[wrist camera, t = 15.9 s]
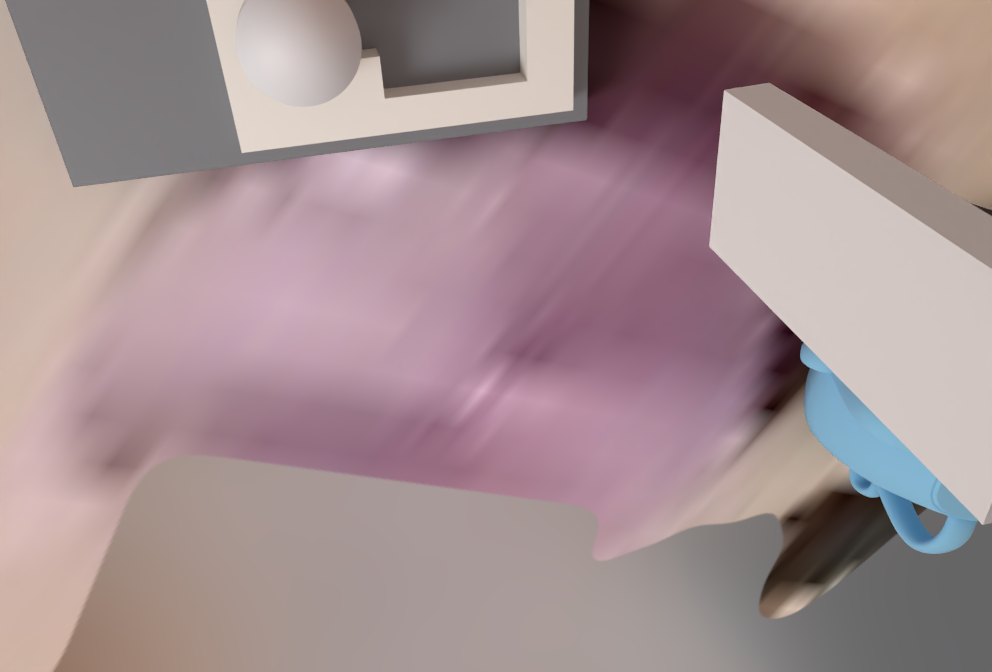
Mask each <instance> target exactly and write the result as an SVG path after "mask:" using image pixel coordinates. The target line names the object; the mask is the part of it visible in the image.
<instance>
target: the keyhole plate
mask: <svg viewBox="0 0 992 672" xmlns="http://www.w3.org/2000/svg"><path fill="white" fill-rule="evenodd" d="M244 1H245V0H206V2H207V6H208V10H209V14H210V19H211V23H212V27H213V32H214V36H215V40H216V44H217V49H218V53H219V57H220V62H221V66H222V70H223V75H224V79H225V83H226V87H227V92H228V96H229V100H230V105H231V109H232V113H233V117H234V122H235V126H236V130H237V135H238V139H239V143H240V147H241V152H242V153H246V152H254V151H262V150H269V149H277V148H285V147H293V146H300V145H308V144H316V143H324V142H331V141H339V140H347V139H355V138H362V137H370V136H378V135H386V134H393V133H401V132H409V131H417V130H424V129H432V128H440V127H448V126H455V125H463V124H471V123H479V122H486V121H494V120H502V119H510V118H518V117H525V116H533V115H541V114H549V113H556V112H564V111H572V110H573V85H574V0H519V37H520V73H513V74H505V75H497V76H488V77H480V78H472V79H463V80H455V81H447V82H438V83H430V84H422V85H413V86H405V87H397V88H388V89H384V88H383V80H382V72H381V64H380V56H379V54H378V51H377V49H376V48H372V49H363V50H362V53H361V60H360V65H359V68H358V71H357V73H356V75H355V77H354V79H353V80H352V82H351V83H350V85H349V86H348V87H347V88H346V89H345V90H344V91H343V92H342V93H341V94H339V95H338V96H337V97H335V98H334V99H332V100H330V101H328V102H326V103H323V104H320V105H315V106H308V107H298V106H291V105H286V104H283V103H280V102H277V101H275V100H273V99H271V98H269V97H268V96H266V95H265V94H263V93H262V92H261V91H260V90H258V89H257V88H256V87H255V86H254V85H253V84H252V82H251V81H250V80H249V79H248V77H247V76H246V74H245V72H244V71H243V69H242V66H241V64H240V62H239V59H238V55H237V50H236V26H237V19H238V15H239V11H240V9H241V7H242V4H243V3H244Z"/></svg>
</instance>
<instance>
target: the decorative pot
mask: <svg viewBox="0 0 992 672" xmlns="http://www.w3.org/2000/svg"><path fill="white" fill-rule="evenodd" d="M800 358H801V361H802V362H803V363H804V364H805V365H806V366H808V367H810V369H809V372H808V375H807V380H806V388H805V397H804V405H805V416H806V419H807V422H808V425H809V427H810V430H811V432H812V433H813V434H814V435H815V437H816V438H817V439H818V440H819V441H820V442H821V444H822V445H823V446H824V447H825V448H826V449H827V450H828V451H829V452H830V453H831V454H833V455H834V456H835V457H836V458H837V459H838V460H840V461H841V462H842V463H844V464H845V465H846V466H848V467H849V468H850V473H849V477H850V481H851V484H852V485H853V487H854V488H855V489H856V490H857V491H858V492H859V493H861V494H862V495H865V496H867V497H879V496H880V498H881V500H882V502H883V505H884V507H885V509H886V512H887V514H888V516H889V518H890V520H891V522H892V524H893V526H894V528H895V529H896V531H897V532H898V534H899V535H900V537H901V538H902V539H903V540H904V541H905V542H906V543H907V544H908V545H909V546H910V547H912V548H914V549H915V550H918V551H920V552H923V553H930V554H935V553H936V554H938V553H945V552H949V551H952V550H955V549H957V548H958V547H960V546H961V545H963V544H964V543H965V542H966V541H967V540H968V539H969V538H970V536H971V534H972V533H973V530H974V528H975V526H976V523H977V521H979V520H978V519H977V518H976V517H975V516H974V515H973V514H972V513H971V512H970V511H969V510H968V509H967V508H966V507H965V506H964V505H963V504H962V503H961V502H960V501H959V500H958V499H957V498H956V497H955V496H954V495H953V494H952V493H951V492H950V491H949V490H948V489H947V488H946V487H945V486H944V485H943V484H942V483H941V482H940V481H939V480H938V479H937V478H936V477H935V476H934V475H933V474H932V473H931V472H930V471H929V470H928V469H927V468H926V466H925V465H924V464H923V463H922V462H921V461H920V460H919V459H918V458H917V457H916V456H915V455H914V454H913V453H912V452H911V451H910V450H909V449H908V448H907V447H906V446H905V445H904V444H903V443H902V442H901V441H900V440H899V439H898V438H897V437H896V436H895V435H894V434H893V433H892V432H891V431H890V430H889V429H888V428H887V427H886V426H885V425H884V424H883V423H882V422H881V421H880V420H879V419H878V418H877V417H876V416H875V415H874V414H873V413H872V411H871V410H870V409H869V408H868V407H867V406H866V405H865V404H864V403H863V402H862V401H861V400H860V399H859V398H858V397H857V396H856V395H855V394H854V393H853V392H852V391H851V390H850V389H849V388H848V387H847V386H846V385H845V384H844V383H843V382H842V381H841V380H840V379H839V378H838V377H837V376H836V375H835V374H834V373H833V372H832V371H831V370H830V369H829V368H828V367H827V366H826V365H825V364H824V363H823V362H822V361H821V360H820V359H819V358H818V356H817V355H816V354H815V353H814V352H813V351H812V350H811V349H810V348H809V347H808V346H807V345H806V344H805V343H803V344H802V347H801V352H800ZM911 501H912V502H914V503H917V504H919V505H921V506H924V507H926V508H928V509H931V510H933V511H936V512H939V513H942V514H945V515H948V518H947V520H946V522H945V525H944V526H943V528H942V530H941V532H940V533H939V534H938V535H937V536H935V537H933V536H932V535H931V534H929V532H928V531H927V530H926V528H925V527H924V526H923V524H922V523H921V521H920V519H919V517H918V516H917V514H916V512H915V510H914V507H913V505H912V503H911Z"/></svg>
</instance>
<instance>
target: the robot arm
mask: <svg viewBox="0 0 992 672" xmlns="http://www.w3.org/2000/svg"><path fill="white" fill-rule="evenodd" d="M709 246H710V248H711V249H712V250H713V251H714V252H715V253H716V254H717V255H718V256H719V257H720V258H721V259H722V260H723V261H724V262H725V263H726V264H727V265H728V266H729V267H730V268H731V269H732V270H733V271H734V272H735V273H736V274H737V275H738V276H739V277H740V278H741V279H742V280H743V281H744V282H745V283H746V284H747V285H748V286H749V287H750V288H751V289H752V290H753V291H754V292H755V293H756V294H757V295H758V296H759V297H760V298H761V299H762V300H763V301H764V303H765V304H766V305H767V306H768V307H769V308H770V309H771V310H772V311H773V312H774V313H775V314H776V315H777V316H778V317H779V318H780V319H781V320H782V321H783V322H784V323H785V324H786V325H787V326H788V327H789V328H790V329H791V330H792V331H793V332H794V333H795V334H796V335H797V336H798V337H799V338H800V339H801V340H802V341H803V342H804V343H805V344H806V345H807V346H808V347H809V348H810V349H811V350H812V351H813V352H814V353H815V354H816V355H817V356H818V358H819V359H820V360H821V361H822V362H823V363H824V364H825V365H826V366H827V367H828V368H829V369H830V370H831V371H832V372H833V373H834V374H835V375H836V376H837V377H838V378H839V379H840V380H841V381H842V382H843V383H844V384H845V385H846V386H847V387H848V388H849V389H850V390H851V391H852V392H853V393H854V394H855V395H856V396H857V397H858V398H859V399H860V400H861V401H862V402H863V403H864V404H865V405H866V406H867V407H868V408H869V409H870V410H871V411H872V413H873V414H874V415H875V416H876V417H877V418H878V419H879V420H880V421H881V422H882V423H883V424H884V425H885V426H886V427H887V428H888V429H889V430H890V431H891V432H892V433H893V434H894V435H895V436H896V437H897V438H898V439H899V440H900V441H901V442H902V443H903V444H904V445H905V446H906V447H907V448H908V449H909V450H910V451H911V452H912V453H913V454H914V455H915V456H916V457H917V458H918V459H919V460H920V461H921V462H922V463H923V464H924V465H925V466H926V468H927V469H928V470H929V471H930V472H931V473H932V474H933V475H934V476H935V477H936V478H937V479H938V480H939V481H940V482H941V483H942V484H943V485H944V486H945V487H946V488H947V489H948V490H949V491H950V492H951V493H952V494H953V495H954V496H955V497H956V498H957V499H958V500H959V501H960V502H961V503H962V504H963V505H964V506H965V507H966V508H967V509H968V510H969V511H970V512H971V513H972V514H973V515H974V516H975V517H976V518H977V519H978V520H979V521H980V522H981V523H982V525H984V524H988V523H992V210H989V209H986V208H983V207H980V206H977V205H974V204H971V203H969V202H967V201H966V200H964V199H962V198H961V197H959V196H957V195H956V194H954V193H952V192H951V191H949V190H947V189H946V188H944V187H942V186H941V185H939V184H937V183H936V182H934V181H932V180H931V179H929V178H927V177H926V176H924V175H922V174H921V173H919V172H917V171H916V170H914V169H912V168H911V167H909V166H907V165H906V164H904V163H902V162H901V161H899V160H897V159H896V158H894V157H892V156H891V155H889V154H887V153H885V152H884V151H882V150H880V149H879V148H877V147H875V146H874V145H872V144H870V143H869V142H867V141H865V140H864V139H862V138H860V137H859V136H857V135H855V134H854V133H852V132H850V131H849V130H847V129H845V128H844V127H842V126H840V125H839V124H837V123H835V122H834V121H832V120H830V119H829V118H827V117H825V116H824V115H822V114H820V113H819V112H817V111H815V110H814V109H812V108H810V107H809V106H807V105H805V104H804V103H802V102H800V101H799V100H797V99H795V98H794V97H792V96H790V95H789V94H787V93H785V92H784V91H782V90H780V89H779V88H777V87H775V86H774V85H772V84H770V83H766V84H759V85H753V86H747V87H741V88H734V89H728V90H724V97H723V108H722V118H721V129H720V139H719V150H718V160H717V171H716V181H715V192H714V202H713V213H712V223H711V234H710V244H709Z"/></svg>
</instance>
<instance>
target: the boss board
mask: <svg viewBox="0 0 992 672" xmlns="http://www.w3.org/2000/svg"><path fill="white" fill-rule="evenodd" d="M5 1H6V4H7V7H8V9H9V12H10V15H11V18H12V20H13V23H14V26H15V28H16V31H17V34H18V37H19V39H20V42H21V45H22V48H23V50H24V53H25V56H26V59H27V61H28V64H29V67H30V69H31V72H32V75H33V78H34V80H35V83H36V86H37V89H38V91H39V94H40V97H41V100H42V102H43V105H44V108H45V111H46V113H47V116H48V119H49V121H50V124H51V127H52V130H53V132H54V135H55V138H56V141H57V143H58V146H59V149H60V152H61V154H62V157H63V160H64V162H65V165H66V168H67V171H68V173H69V176H70V179H71V182H72V184H73V187H79V186H87V185H94V184H102V183H110V182H117V181H125V180H132V179H140V178H148V177H155V176H163V175H171V174H178V173H186V172H193V171H201V170H209V169H216V168H224V167H232V166H239V165H247V164H254V163H262V162H270V161H277V160H285V159H292V158H300V157H308V156H315V155H323V154H331V153H338V152H346V151H353V150H361V149H369V148H376V147H384V146H392V145H399V144H407V143H414V142H422V141H430V140H437V139H445V138H452V137H460V136H468V135H475V134H483V133H491V132H498V131H506V130H513V129H521V128H529V127H536V126H544V125H551V124H559V123H567V122H574V121H582V120H587V89H588V38H589V0H574V85H573V110H572V111H564V112H556V113H549V114H541V115H533V116H525V117H518V118H510V119H502V120H494V121H486V122H479V123H471V124H463V125H455V126H448V127H440V128H432V129H424V130H417V131H409V132H401V133H393V134H386V135H378V136H370V137H362V138H355V139H347V140H339V141H331V142H324V143H316V144H308V145H300V146H293V147H285V148H277V149H269V150H262V151H254V152H246V153H242V152H241V147H240V143H239V139H238V135H237V130H236V126H235V122H234V117H233V113H232V109H231V105H230V100H229V96H228V92H227V87H226V83H225V79H224V75H223V70H222V66H221V62H220V57H219V53H218V49H217V44H216V40H215V36H214V32H213V27H212V23H211V19H210V14H209V10H208V6H207V2H206V0H5ZM372 48H376V49H377V51H378V54H379V56H380V64H381V72H382V80H383V88H384V89H388V88H397V87H405V86H413V85H422V84H430V83H438V82H447V81H455V80H463V79H472V78H480V77H488V76H497V75H505V74H513V73H520V37H519V0H245V1H244V3H243V4H242V7H241V9H240V11H239V15H238V19H237V26H236V50H237V55H238V59H239V62H240V64H241V66H242V69H243V71H244V72H245V74H246V76H247V77H248V79H249V80H250V81H251V82H252V84H253V85H254V86H255V87H256V88H257V89H258V90H260V91H261V92H262V93H263V94H265V95H266V96H268V97H269V98H271V99H273V100H275V101H277V102H280V103H283V104H286V105H291V106H298V107H308V106H315V105H320V104H323V103H326V102H328V101H330V100H332V99H334V98H335V97H337V96H338V95H339V94H341V93H342V92H343V91H344V90H345V89H346V88H347V87H348V86H349V85H350V83H351V82H352V80H353V79H354V77H355V75H356V73H357V71H358V68H359V65H360V60H361V53H362V50H363V49H372Z"/></svg>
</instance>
